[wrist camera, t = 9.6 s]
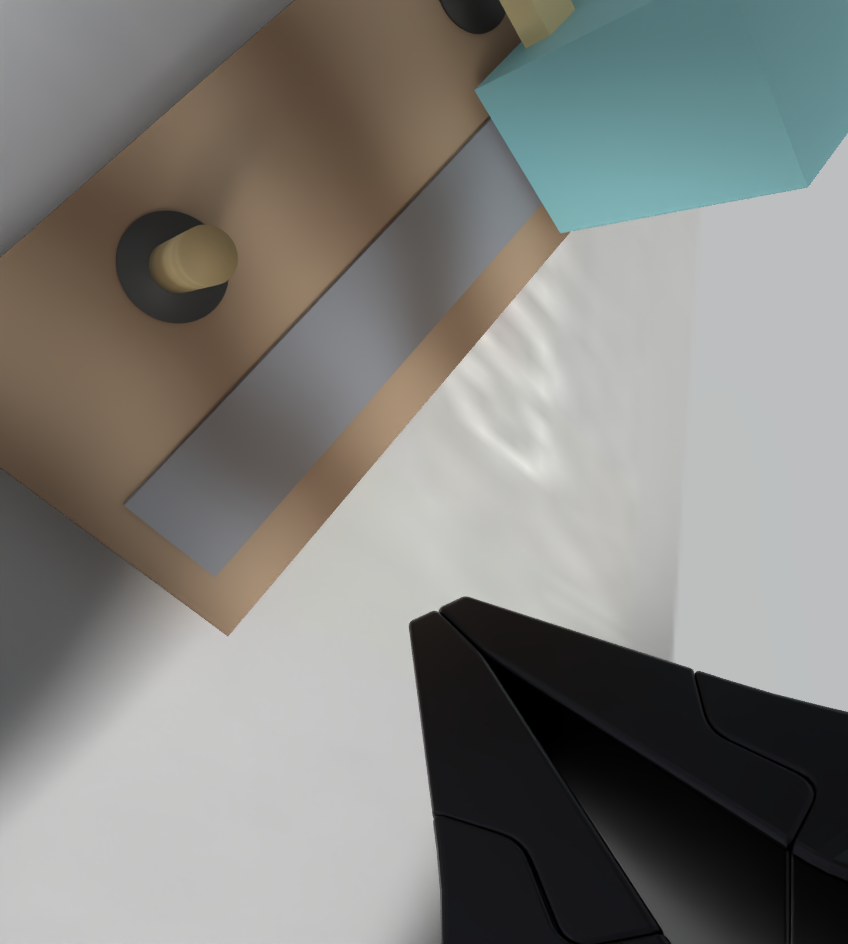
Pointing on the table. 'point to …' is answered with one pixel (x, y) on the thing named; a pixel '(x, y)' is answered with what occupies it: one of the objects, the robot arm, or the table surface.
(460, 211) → the board
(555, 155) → the block
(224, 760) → the table surface
